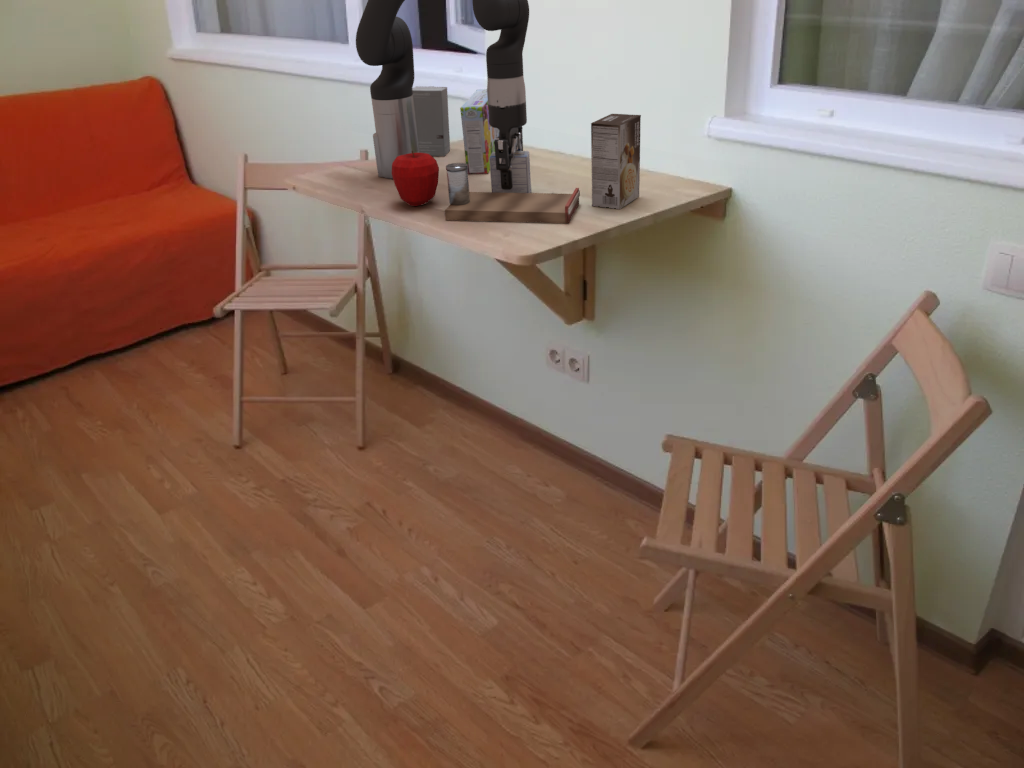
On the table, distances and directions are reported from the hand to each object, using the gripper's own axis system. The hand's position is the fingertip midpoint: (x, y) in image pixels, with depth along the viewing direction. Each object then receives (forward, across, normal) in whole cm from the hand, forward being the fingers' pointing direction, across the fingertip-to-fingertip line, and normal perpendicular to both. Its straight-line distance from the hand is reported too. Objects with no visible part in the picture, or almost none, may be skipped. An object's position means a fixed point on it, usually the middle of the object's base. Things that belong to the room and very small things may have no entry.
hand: (511, 183), depth 168 cm
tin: (0, +12, -8) cm, 14 cm away
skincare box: (+3, -34, -29) cm, 45 cm away
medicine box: (+3, 0, 0) cm, 3 cm away
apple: (+3, +7, -18) cm, 20 cm away
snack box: (+3, -26, -13) cm, 29 cm away
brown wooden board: (+2, +11, +3) cm, 12 cm away
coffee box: (+3, +3, +22) cm, 22 cm away
